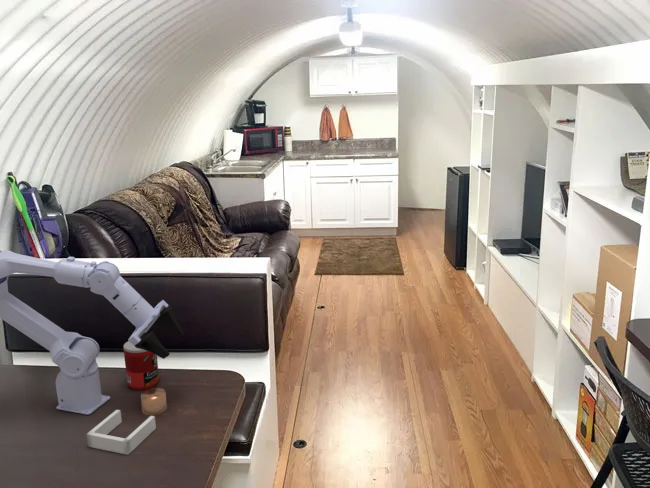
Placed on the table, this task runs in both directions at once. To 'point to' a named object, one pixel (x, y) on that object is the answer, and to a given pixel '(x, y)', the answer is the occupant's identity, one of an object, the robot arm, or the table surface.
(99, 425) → the u-shaped bracket
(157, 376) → the canned food
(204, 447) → the table surface
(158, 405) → the tan short cylinder
